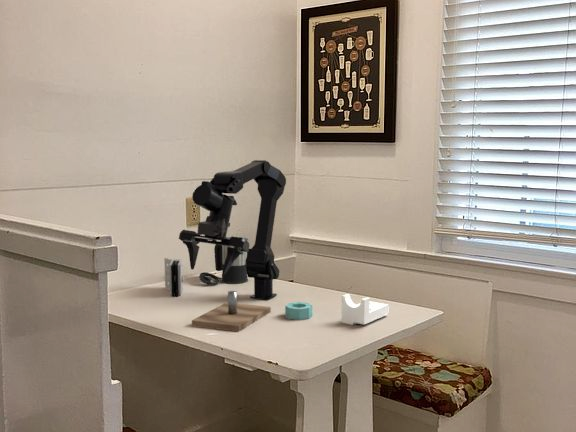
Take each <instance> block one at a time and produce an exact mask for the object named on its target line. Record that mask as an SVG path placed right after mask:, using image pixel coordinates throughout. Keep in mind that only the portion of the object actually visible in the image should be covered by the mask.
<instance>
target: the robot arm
mask: <svg viewBox="0 0 576 432" xmlns="http://www.w3.org/2000/svg"><path fill="white" fill-rule="evenodd" d="M252 180H253V181H254V182H255V183H256V184H257V192H258V194H259V196H260V203H259V204H260V207H259V212H258V220H257V226H256V227H257V228H256V233H255V240H254V244H253V246H252V247H251V248H250V243H249V240H245V239H244V238H245V237H242V238H240V237H241V236H230V237H231V238H230V239H227V238H228V237H227V233H228V229H229V227H231V222H230V220H231V215H232V214H231V213H232V210H233V206H238V205H237V204H238V202H237V201H236V199H235V197H234V195H235V194H238V193H239V192H240V191H242V190H243V189H244V185H245V184H246V183H248V182H250V181H252ZM286 185H287V177H286V176H285V174H284V173H283V172H282V171H281V170H280V169H279V168H277V167H276V166H273V165H271V163H270V162H269V161H267V160H261V159H258V160H257V159H256V160H255V159H254V160H253V161H250V163H247V164H245V165H243V166H241V167H239V168H237V169H235V170H232V171H219V172H216V173H215V174H214V175H213V177H212V179H211V180H210V181H207V180H202V181H201V185H198V186H197V187H196V188H195V189H194V191H193V192H192V196H191V197H192V201H193V203H194V204H195V205H197V206H199V207H200V208H203V209H205V210H206V211H208V212H209V215H207V216H206V218H205V220H204V221H199V222H197V232H196V231H195V230H194V231H193V230H189V229H188V230H187V229H182V230H181V231H180V233H179V234H178V239H179V240H180V241H181V242H182V243H183V245H186V248H187V251H188V257H189V265H190V270H193V271H194V269H195V267H196V263H197V260H198V259H197V258H198V255H199V250H200V246H199V244H200V243H204V244H210V245H216V244H217V245H224V246H231V247H227V256H226V260H225V263H224V267H223V274H224V275H225V274H226V272H227V271H228V269H229V268H230V266H231V265H232V263H233V262H234V261H235V260H236V259H237V257H238V256H239V255H240V254H242V255H243V252H247V257H246V261H245V262H246V263H245V266H246V270H247V278H253V280H254V281H253V294H252V295H250V296H249V298H250V299H256V300H257V299H258V300H271V299H272V298H275V297H277V295H278V294H277V293H275V292H274V291H273V290H274V289H273V286H274V285H273V284H274V283H273V280H278V278H279V276H280V269H279V267H278V266H277V264H276V263H275V253H274V252H273V249H272V238H273V231H274V225H275V218H276V210H277V203H278V200H279V199H280V198H281V196H282V195H283V194H284V191H285V187H286ZM227 194H231V195H227ZM232 194H234V195H232ZM220 241H221V242H220Z"/></svg>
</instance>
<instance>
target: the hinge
mask: <svg viewBox="0 0 576 432" xmlns="http://www.w3.org/2000/svg"><path fill="white" fill-rule="evenodd" d="M183 271H184V269H183V260H182V259H181V258H174V259H173V258H168V257H164V288H165V289H168V290H169V297H171V298H175V296H176V298H178V297H182V295H183V290H184V272H183Z"/></svg>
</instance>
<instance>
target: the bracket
mask: <svg viewBox="0 0 576 432" xmlns="http://www.w3.org/2000/svg"><path fill="white" fill-rule="evenodd" d="M370 300H371V298H370V297H364V298H361V301H360V302H359V303H357V304H356V303H354V301H352V298H351V294H348V293H346V294H344V295H341V324H347V325H352V326H353V325H356V324H360V325H366V324H369V323H371V322H373V321H376V320H377V319H378V320H379V319H381V318H383V317H385V316H387V315H389V314H390V313H389V311H390V309H389V307H390V304H386V303H381V302H376V301H370Z"/></svg>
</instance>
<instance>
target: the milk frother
mask: <svg viewBox="0 0 576 432" xmlns="http://www.w3.org/2000/svg"><path fill="white" fill-rule="evenodd" d="M231 237H232V236H230V237H227V239H230V238H231ZM239 237H240V238H244V239H245V240H247V241H249V238H247V237H241V236H239ZM219 241H220V242H221V240H219ZM227 247H231V246H224V245H217V244H214V248H213V249H214V251H213V252H214V266H215V271H216V272H221V277H219V276H217V275H214V274H213V273H209V272H201V273H199V275H198V279H199V281H200V282H202V283H204V284H206V286H212V285H214V286H216V285H218V284H219V283H220V280H221V282H222V283H224V284H225V283H226V284H234V285H235V284H243V283H246V282H248V281H249V279H248V278H249V277H248V275H247V270H246V266H245V263H246V262H245V261H246V257H247V252H243V255H242V254H240V255H239V256H238V257H237V259H236V260H235V261H234V262H233V263H232V265H231V266H230V268H229V269H228V271H227V272H226V274H225V275H224V274H223V267H224V263H225V260H226V256H227ZM213 280H214V281H213Z"/></svg>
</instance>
